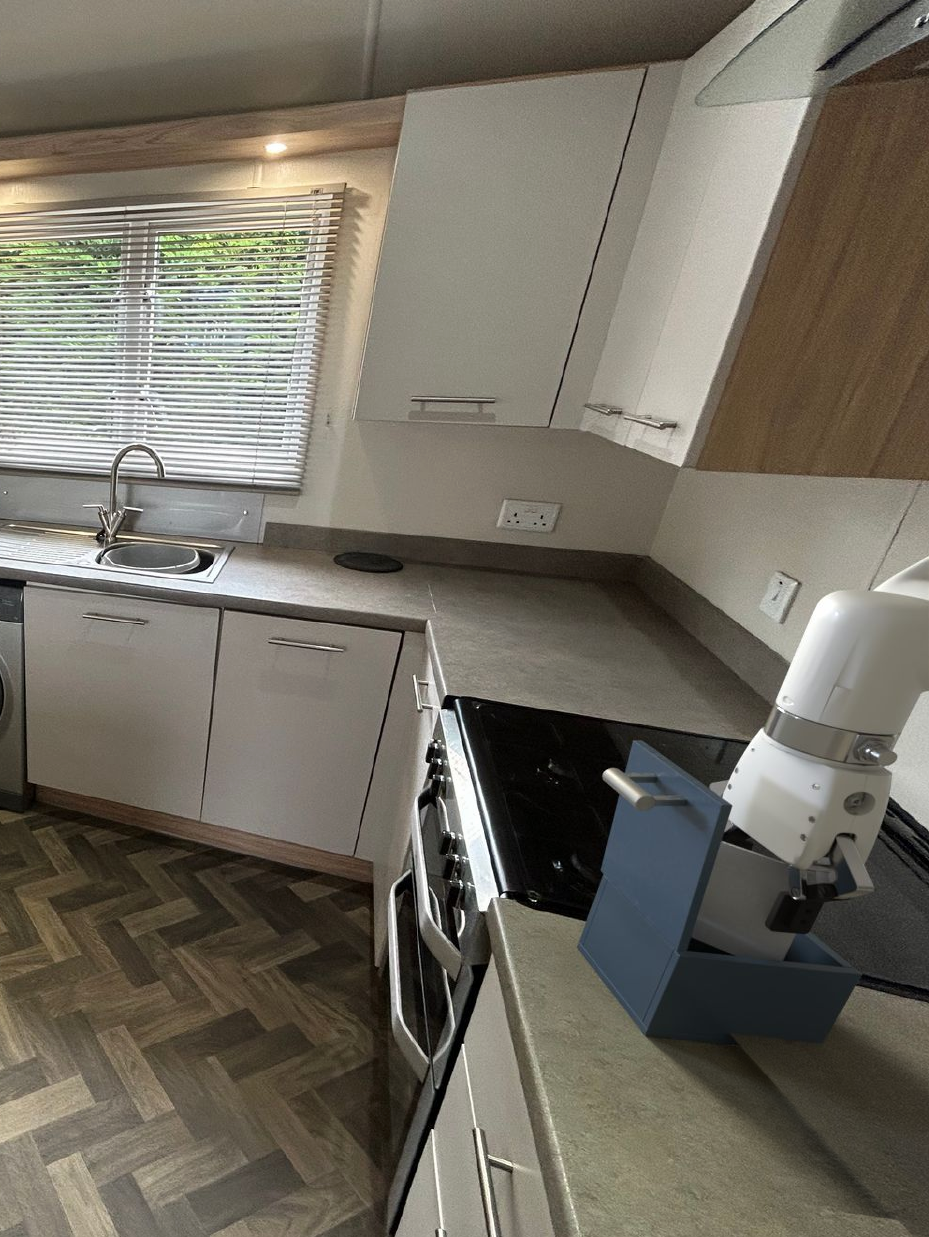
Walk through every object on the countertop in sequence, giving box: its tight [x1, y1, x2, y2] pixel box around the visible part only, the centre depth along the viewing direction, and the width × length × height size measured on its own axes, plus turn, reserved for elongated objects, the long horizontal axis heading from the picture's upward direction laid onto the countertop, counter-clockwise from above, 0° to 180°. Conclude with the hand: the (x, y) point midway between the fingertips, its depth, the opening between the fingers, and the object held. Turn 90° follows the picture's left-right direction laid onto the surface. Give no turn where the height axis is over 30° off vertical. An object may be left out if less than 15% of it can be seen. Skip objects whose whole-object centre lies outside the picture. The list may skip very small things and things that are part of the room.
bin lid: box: [600, 739, 732, 952], centre depth 68 cm, size 15×12×5 cm
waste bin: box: [576, 874, 862, 1048], centre depth 71 cm, size 15×12×10 cm
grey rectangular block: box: [691, 841, 816, 961], centre depth 68 cm, size 4×7×10 cm, turn 41°
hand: (751, 899), depth 68 cm, fingers closed on grey rectangular block, 7 cm apart
